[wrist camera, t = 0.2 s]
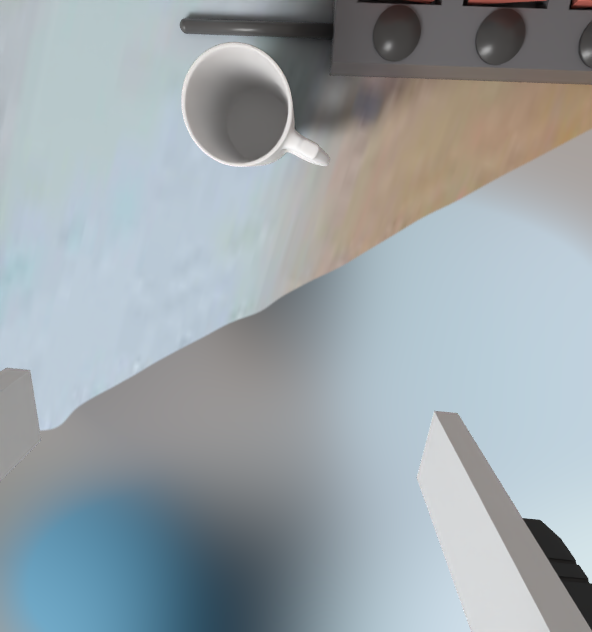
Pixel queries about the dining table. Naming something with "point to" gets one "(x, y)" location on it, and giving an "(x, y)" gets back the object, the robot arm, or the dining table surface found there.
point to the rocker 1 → (422, 1)
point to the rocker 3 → (581, 4)
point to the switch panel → (442, 39)
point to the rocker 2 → (496, 1)
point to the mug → (243, 108)
